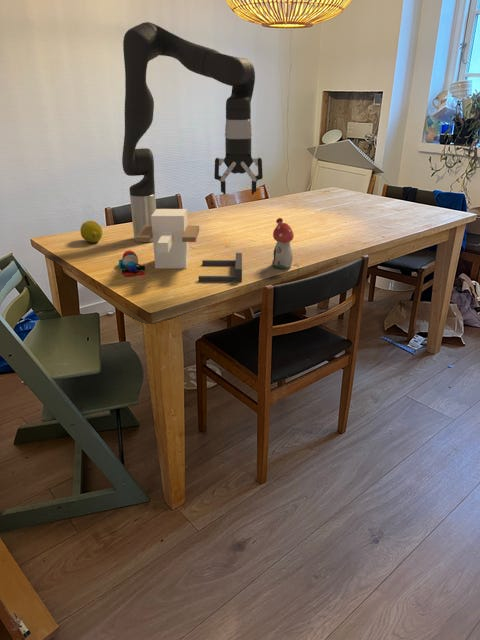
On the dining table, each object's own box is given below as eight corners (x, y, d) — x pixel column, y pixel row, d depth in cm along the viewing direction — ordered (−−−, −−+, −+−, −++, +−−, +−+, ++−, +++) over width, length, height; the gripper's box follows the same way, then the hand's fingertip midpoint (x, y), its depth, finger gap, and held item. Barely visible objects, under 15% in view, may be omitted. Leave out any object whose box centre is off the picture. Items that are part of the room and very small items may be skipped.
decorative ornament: (271, 260, 161) (272, 216, 154) (290, 260, 161) (292, 216, 154) (272, 270, 152) (274, 223, 146) (293, 270, 152) (295, 223, 146)
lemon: (105, 244, 179) (102, 223, 175) (83, 246, 176) (80, 225, 173) (101, 237, 188) (98, 216, 184) (80, 239, 185) (77, 218, 182)
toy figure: (147, 279, 150) (140, 258, 161) (145, 265, 147) (137, 244, 158) (123, 284, 148) (117, 262, 159) (121, 270, 145) (114, 248, 156)
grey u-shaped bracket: (198, 281, 143) (198, 269, 141) (202, 264, 157) (202, 252, 156) (241, 281, 143) (241, 269, 141) (241, 264, 157) (241, 252, 156)
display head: (148, 258, 163) (144, 208, 156) (201, 258, 163) (199, 208, 156) (135, 281, 143) (129, 225, 136) (195, 281, 143) (192, 225, 136)
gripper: (262, 135, 140) (261, 191, 147) (214, 135, 140) (215, 191, 147) (263, 137, 133) (262, 196, 140) (212, 137, 133) (214, 196, 140)
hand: (238, 194), depth 144 cm, fingers open, 8 cm apart
